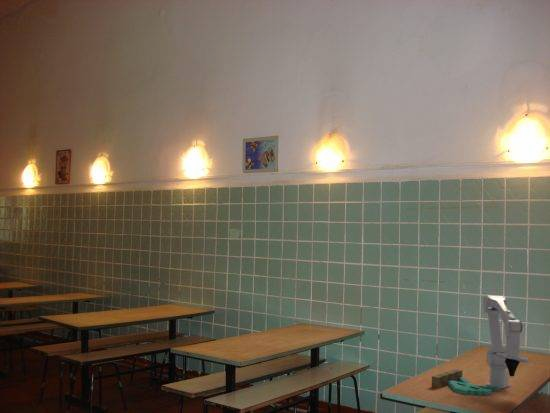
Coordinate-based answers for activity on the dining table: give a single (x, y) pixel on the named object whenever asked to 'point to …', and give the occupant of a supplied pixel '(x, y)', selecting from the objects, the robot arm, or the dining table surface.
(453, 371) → the walnut board
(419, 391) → the dining table surface
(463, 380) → the alien figure
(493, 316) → the robot arm
